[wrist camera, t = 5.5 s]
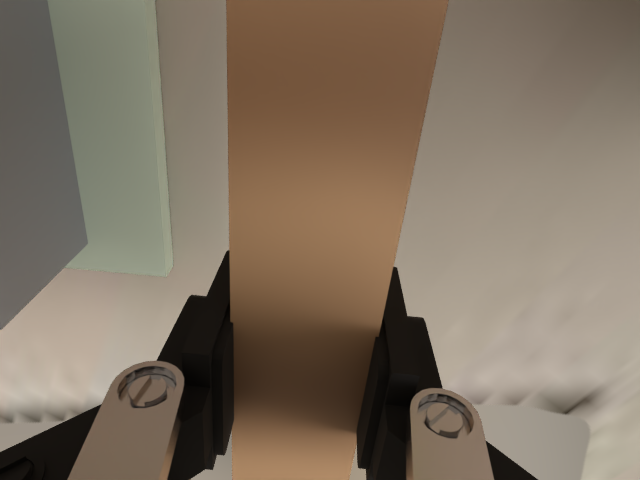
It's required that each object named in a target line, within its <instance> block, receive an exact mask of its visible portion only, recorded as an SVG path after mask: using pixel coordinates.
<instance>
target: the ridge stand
mask: <svg viewBox="0 0 640 480" xmlns="http://www.w3.org/2000/svg"><path fill="white" fill-rule="evenodd" d="M172 267H173V251H172V236H171V222H170V207H169V193H168V178H167V164H166V149H165V135H164V120H163V106H162V91H161V77H160V62H159V48H158V33H157V19H156V4H155V0H0V330H2V329H3V328H4V327H5V326H6V325H7V324H8V323H9V322H10V321H11V320H12V319H13V318H14V317H15V316H16V315H17V314H18V313H19V312H20V311H21V310H22V309H23V308H24V307H25V306H26V305H27V304H28V303H29V302H30V301H31V300H32V299H33V298H34V297H35V296H36V295H37V294H38V293H39V292H40V291H41V290H42V289H43V288H44V287H45V286H46V285H47V284H48V283H49V282H50V281H51V280H52V279H53V278H54V277H55V276H56V275H57V274H58V273H59V272H60V271H61V270H62V269H63V268H72V269H83V270H93V271H104V272H115V273H126V274H137V275H148V276H159V277H167V275H168V274H169V272H170V270H171V269H172Z"/></svg>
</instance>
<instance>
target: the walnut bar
mask: <svg viewBox="0 0 640 480" xmlns="http://www.w3.org/2000/svg"><path fill="white" fill-rule="evenodd" d="M448 1H449V0H226V7H227V88H228V169H229V249H230V322H232V323H233V335H234V422H233V426H232V480H349V477H350V472H351V468H352V463H353V458H354V453H355V449H356V444H357V434H356V430H357V426H358V421H359V416H360V411H361V406H362V401H363V396H364V391H365V386H366V381H367V376H368V371H369V366H370V362H371V357H372V352H373V347H374V342H375V337H379V333H380V328H381V324H382V319H383V314H384V309H385V304H386V299H387V295H388V290H389V285H390V280H391V275H392V271H393V266H394V261H395V256H396V251H397V247H398V242H399V237H400V232H401V227H402V222H403V218H404V213H405V208H406V203H407V198H408V194H409V189H410V184H411V179H412V174H413V170H414V165H415V160H416V155H417V150H418V145H419V141H420V136H421V131H422V126H423V121H424V117H425V112H426V107H427V102H428V97H429V93H430V88H431V83H432V78H433V73H434V69H435V64H436V59H437V54H438V49H439V44H440V40H441V35H442V30H443V25H444V20H445V16H446V11H447V6H448Z"/></svg>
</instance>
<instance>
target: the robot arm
mask: <svg viewBox="0 0 640 480" xmlns="http://www.w3.org/2000/svg"><path fill="white" fill-rule="evenodd" d="M233 422H234V335H233V323H232V322H230V251H227V252H226V254H225V256H224V258H223V261H222V263H221V265H220V267H219V269H218V272H217V274H216V276H215V278H214V281H213V283H212V285H211V287H210V290H209V292H208V294H207V296H197V295H191V296H190V297H189V298H188V300H187V302H186V304H185V306H184V307H183V309H182V311H181V313H180V315H179V317H178V319H177V321H176V323H175V325H174V327H173V329H172V331H171V333H170V335H169V337H168V339H167V341H166V343H165V345H164V347H163V349H162V351H161V353H160V355H159V357H158V359H157V361H147V362H142V363H139V364H135V365H133V366H131V367H129V368H127V369H125V370H124V371H123V372H121V373H120V374H119V375H118V376H117V377H116V378H115V379H114V381H113V382H112V384H111V385H110V388H109V390H108V392H107V394H106V396H105V398H104V401H103V403H102V404H101V405H99V406H97V407H95V408H92V409H90V410H88V411H86V412H84V413H82V414H80V415H78V416H76V417H73V418H71V419H69V420H67V421H65V422H63V423H61V424H59V425H57V426H55V427H52V428H50V429H48V430H46V431H44V432H42V433H40V434H38V435H35V436H33V437H31V438H29V439H27V440H25V441H23V442H21V443H19V444H16V445H14V446H12V447H10V448H8V449H6V450H4V451H2V452H0V480H191V478H193V477H194V476H195V475H197V474H199V473H200V472H202V471H203V470H205V469H210V470H213V467H214V464H215V460H216V456H217V455H225V453H226V450H227V446H228V442H229V437H230V434H231V430H232V426H233ZM356 434H357V460H358V461H357V462H358V468H362V469H366V479H367V480H538V479H536V478H535V477H534V476H532V475H531V474H530V473H528V472H527V471H526V470H524V469H523V468H522V467H520V466H519V465H518V464H516V463H515V462H514V461H512V460H511V459H510V458H508V457H507V456H505V455H504V454H503V453H501V452H500V451H499V450H497V449H496V448H495V447H494V446H492V445H491V444H490V443H488V442H487V441H486V440H485V436H484V431H483V427H482V422H481V419H480V417H479V414H478V412H477V411H476V409H475V408H474V407H473V405H472V404H471V403H470V402H468V401H467V400H466V399H465V398H463V397H462V396H460V395H458V394H456V393H454V392H452V391H449V390H445V389H443V388H442V384H441V380H440V377H439V373H438V369H437V365H436V361H435V357H434V354H433V350H432V346H431V342H430V338H429V334H428V331H427V327H426V323H425V320H424V319H423V318H420V317H410V316H407V313H406V308H405V303H404V298H403V294H402V289H401V284H400V279H399V275H398V270H397V267H393V271H392V275H391V280H390V285H389V290H388V295H387V299H386V304H385V309H384V314H383V319H382V324H381V328H380V333H379V337H375V342H374V347H373V352H372V357H371V362H370V366H369V371H368V376H367V381H366V386H365V391H364V396H363V401H362V406H361V411H360V416H359V421H358V426H357V430H356Z"/></svg>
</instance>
